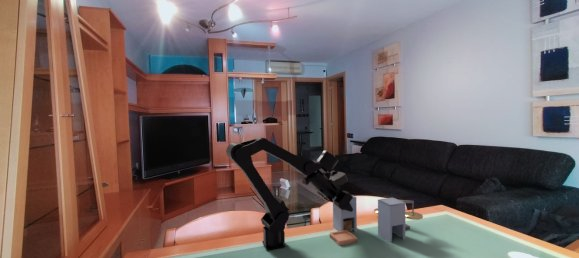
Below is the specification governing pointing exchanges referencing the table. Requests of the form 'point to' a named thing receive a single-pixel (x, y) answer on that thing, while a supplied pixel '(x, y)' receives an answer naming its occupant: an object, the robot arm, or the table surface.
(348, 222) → the block
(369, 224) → the table surface
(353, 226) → the tall vending chute
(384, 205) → the gray arched-opening tower
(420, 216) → the balance
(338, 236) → the dish
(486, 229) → the table surface
